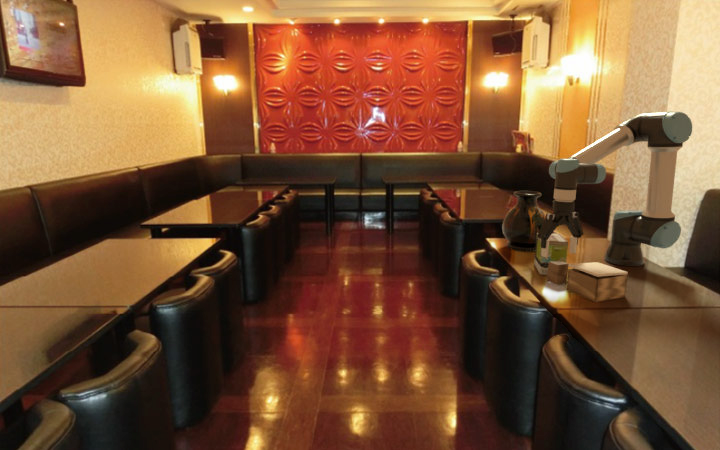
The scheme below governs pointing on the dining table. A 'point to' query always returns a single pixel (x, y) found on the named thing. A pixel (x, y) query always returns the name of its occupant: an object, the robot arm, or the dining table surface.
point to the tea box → (550, 252)
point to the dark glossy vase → (523, 222)
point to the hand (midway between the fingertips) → (558, 254)
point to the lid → (597, 269)
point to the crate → (596, 285)
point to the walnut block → (557, 272)
